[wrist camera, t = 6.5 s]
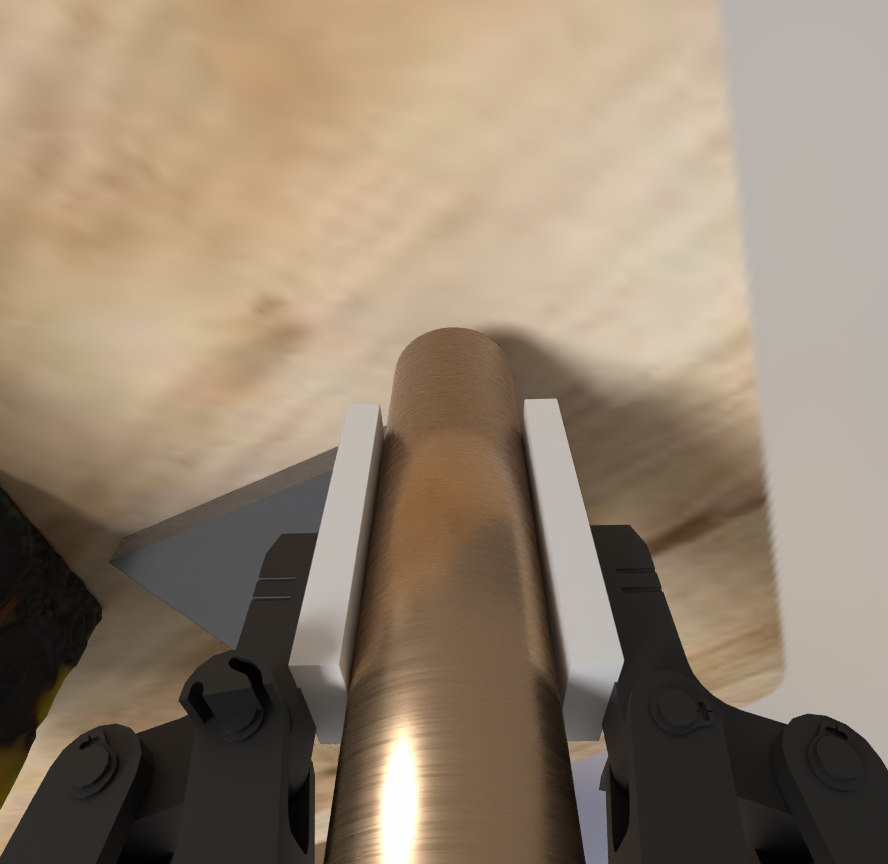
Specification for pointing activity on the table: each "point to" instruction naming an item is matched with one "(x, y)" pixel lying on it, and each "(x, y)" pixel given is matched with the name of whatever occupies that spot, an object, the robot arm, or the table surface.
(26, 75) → the table surface
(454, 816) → the lever
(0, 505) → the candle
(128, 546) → the base
